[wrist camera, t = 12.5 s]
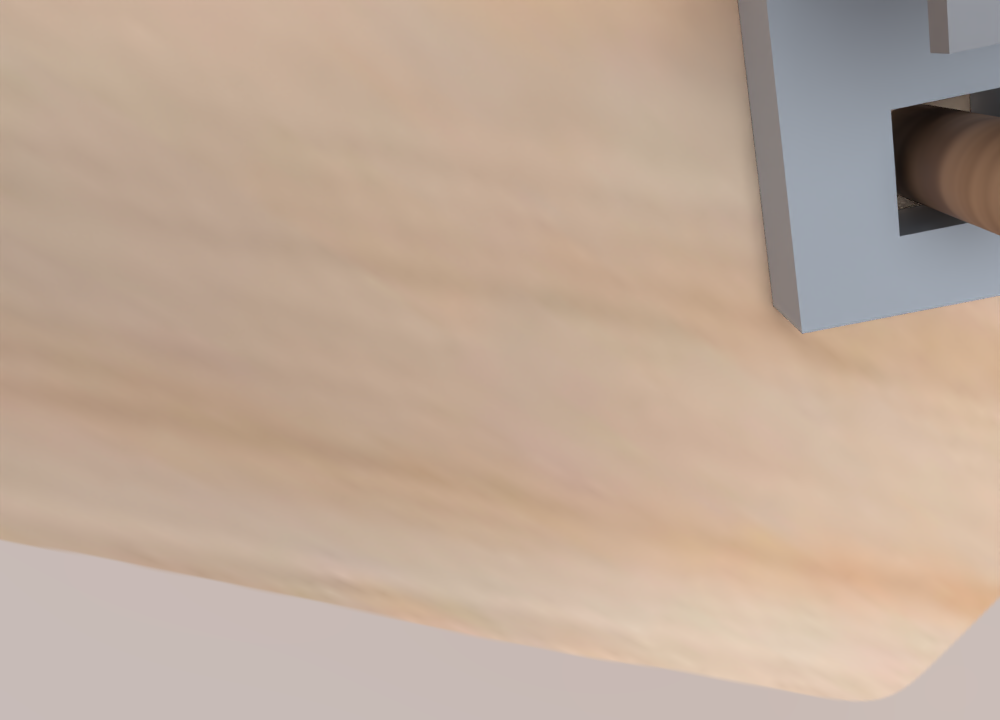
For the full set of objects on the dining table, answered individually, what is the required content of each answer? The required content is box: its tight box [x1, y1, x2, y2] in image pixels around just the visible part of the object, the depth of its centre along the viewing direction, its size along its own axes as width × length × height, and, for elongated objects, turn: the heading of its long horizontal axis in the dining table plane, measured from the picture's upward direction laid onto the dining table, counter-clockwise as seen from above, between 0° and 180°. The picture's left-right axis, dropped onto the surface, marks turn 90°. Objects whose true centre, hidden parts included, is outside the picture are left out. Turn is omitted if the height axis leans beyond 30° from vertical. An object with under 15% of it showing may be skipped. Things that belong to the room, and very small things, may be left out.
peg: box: [891, 104, 1000, 235], centre depth 36 cm, size 4×4×15 cm
